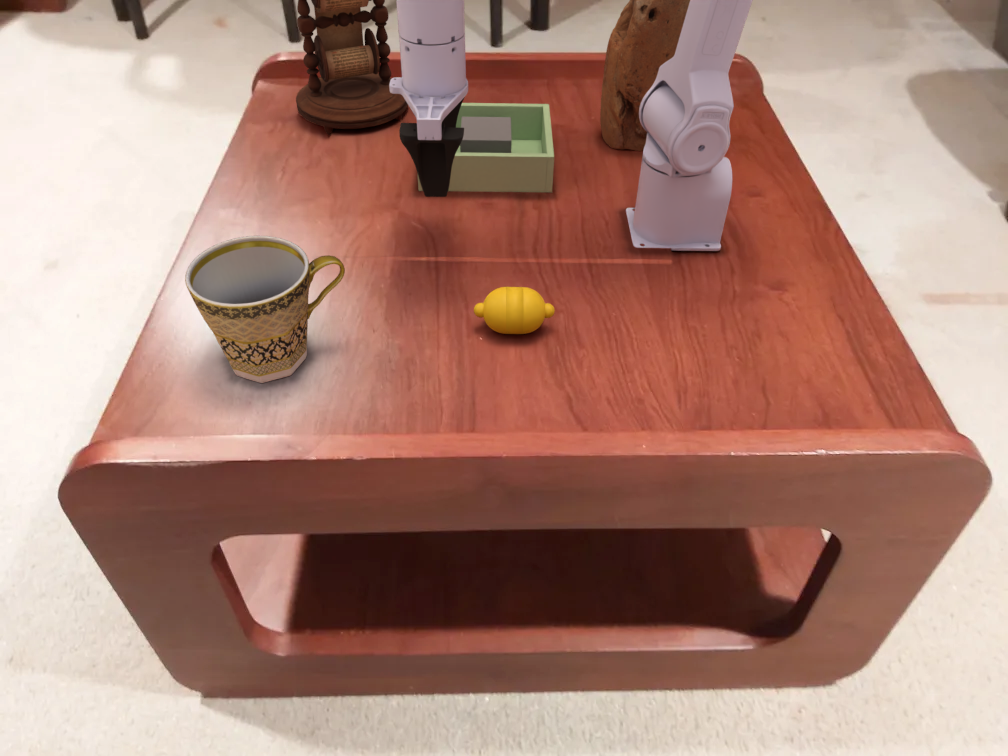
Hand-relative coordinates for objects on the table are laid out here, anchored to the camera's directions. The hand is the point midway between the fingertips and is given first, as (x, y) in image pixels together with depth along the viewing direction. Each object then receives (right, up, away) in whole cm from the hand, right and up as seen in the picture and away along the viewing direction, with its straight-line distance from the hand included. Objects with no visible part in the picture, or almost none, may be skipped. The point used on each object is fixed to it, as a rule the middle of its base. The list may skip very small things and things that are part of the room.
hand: (438, 174), depth 80 cm
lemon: (+7, -15, -2) cm, 17 cm away
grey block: (+4, +7, +21) cm, 22 cm away
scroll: (-14, +16, +31) cm, 37 cm away
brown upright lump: (+24, +11, +26) cm, 37 cm away
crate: (+4, +6, +21) cm, 22 cm away
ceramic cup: (-14, -18, -5) cm, 23 cm away
